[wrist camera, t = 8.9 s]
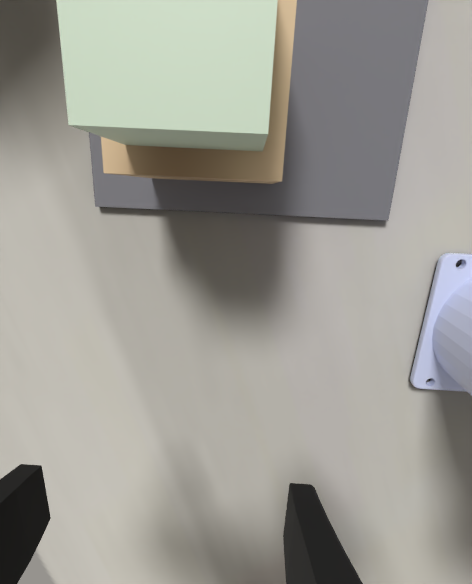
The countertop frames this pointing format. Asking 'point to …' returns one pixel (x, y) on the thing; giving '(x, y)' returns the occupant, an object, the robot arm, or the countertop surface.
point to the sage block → (170, 70)
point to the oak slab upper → (216, 160)
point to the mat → (316, 122)
